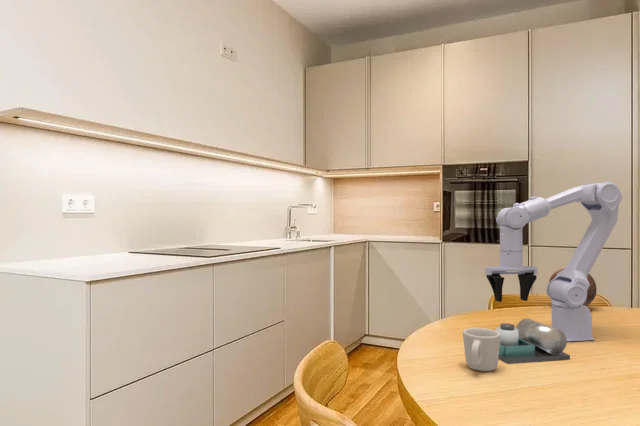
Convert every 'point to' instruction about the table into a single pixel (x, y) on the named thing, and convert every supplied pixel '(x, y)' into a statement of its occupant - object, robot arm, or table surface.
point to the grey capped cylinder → (508, 335)
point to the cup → (481, 348)
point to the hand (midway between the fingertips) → (511, 300)
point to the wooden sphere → (590, 292)
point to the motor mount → (535, 344)
